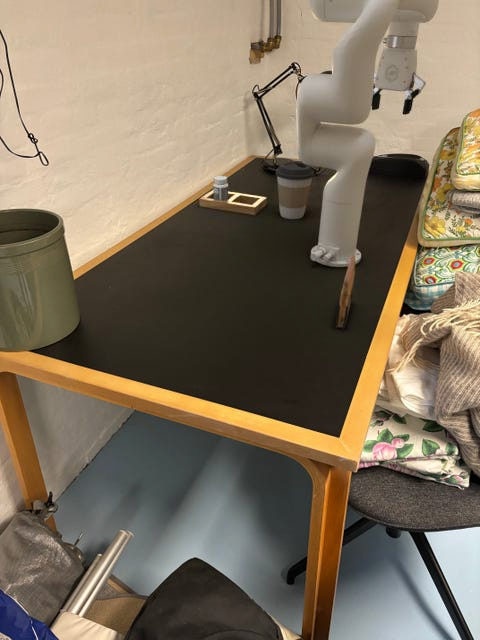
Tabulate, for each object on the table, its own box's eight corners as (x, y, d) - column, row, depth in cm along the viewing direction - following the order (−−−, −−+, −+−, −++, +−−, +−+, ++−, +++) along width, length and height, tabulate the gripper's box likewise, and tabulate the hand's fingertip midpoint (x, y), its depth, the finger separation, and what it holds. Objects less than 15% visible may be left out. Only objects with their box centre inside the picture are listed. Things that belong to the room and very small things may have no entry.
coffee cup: (317, 219, 150) (322, 168, 142) (283, 223, 147) (286, 172, 139) (299, 206, 159) (303, 158, 151) (267, 211, 156) (269, 162, 148)
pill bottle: (228, 201, 163) (228, 175, 158) (228, 206, 159) (228, 179, 154) (213, 201, 163) (213, 175, 158) (213, 206, 159) (213, 179, 154)
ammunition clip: (342, 301, 109) (349, 251, 102) (351, 303, 108) (358, 252, 102) (335, 327, 100) (342, 274, 94) (344, 329, 100) (352, 275, 93)
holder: (254, 215, 152) (254, 207, 151) (199, 206, 159) (199, 198, 157) (266, 204, 160) (266, 197, 159) (213, 196, 167) (213, 189, 165)
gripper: (365, 42, 137) (357, 109, 146) (425, 46, 127) (412, 117, 136) (379, 41, 141) (370, 106, 150) (438, 44, 132) (424, 114, 141)
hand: (390, 111), depth 143 cm, fingers open, 9 cm apart
